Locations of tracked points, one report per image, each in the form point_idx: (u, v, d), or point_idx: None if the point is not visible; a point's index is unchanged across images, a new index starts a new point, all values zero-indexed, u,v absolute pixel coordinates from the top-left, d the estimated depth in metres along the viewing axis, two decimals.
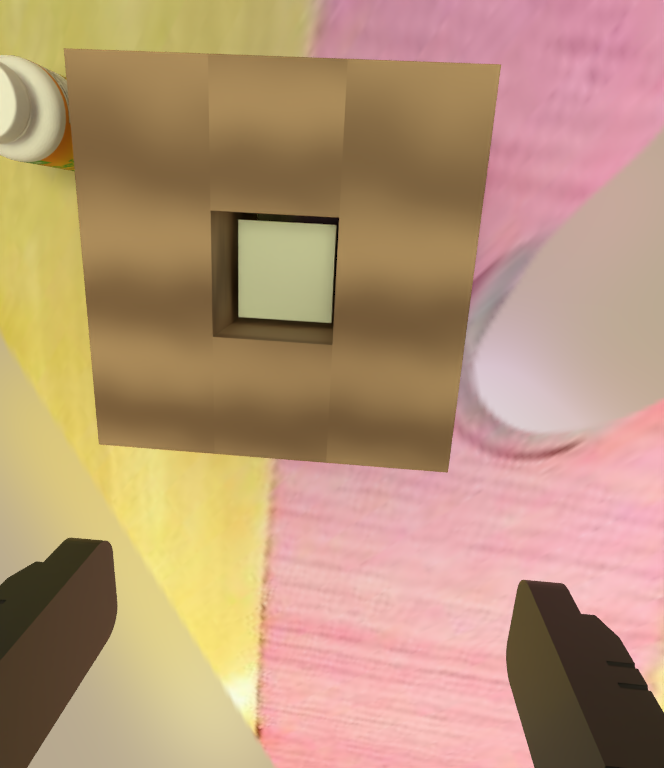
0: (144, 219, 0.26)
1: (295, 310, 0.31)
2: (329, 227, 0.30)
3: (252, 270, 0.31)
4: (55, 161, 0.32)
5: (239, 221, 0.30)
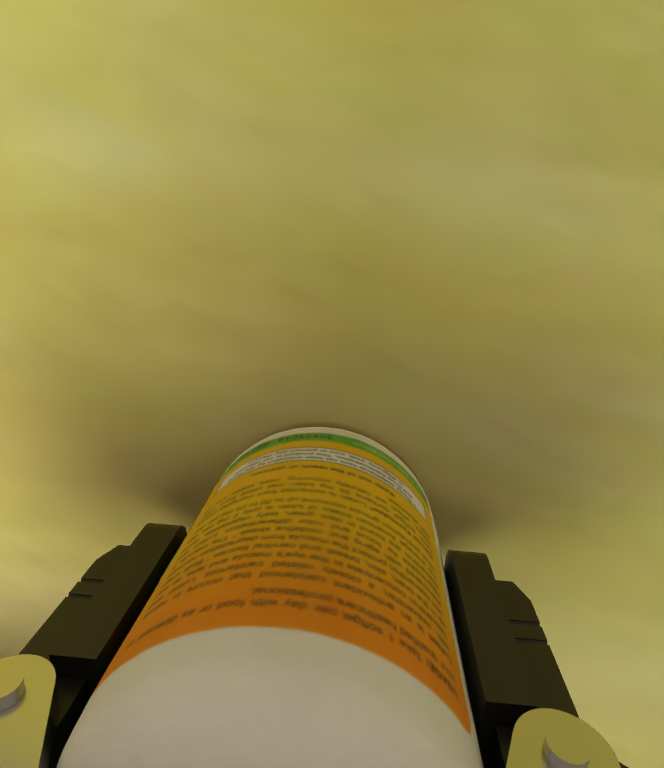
0: None
1: None
2: None
3: None
4: None
5: None
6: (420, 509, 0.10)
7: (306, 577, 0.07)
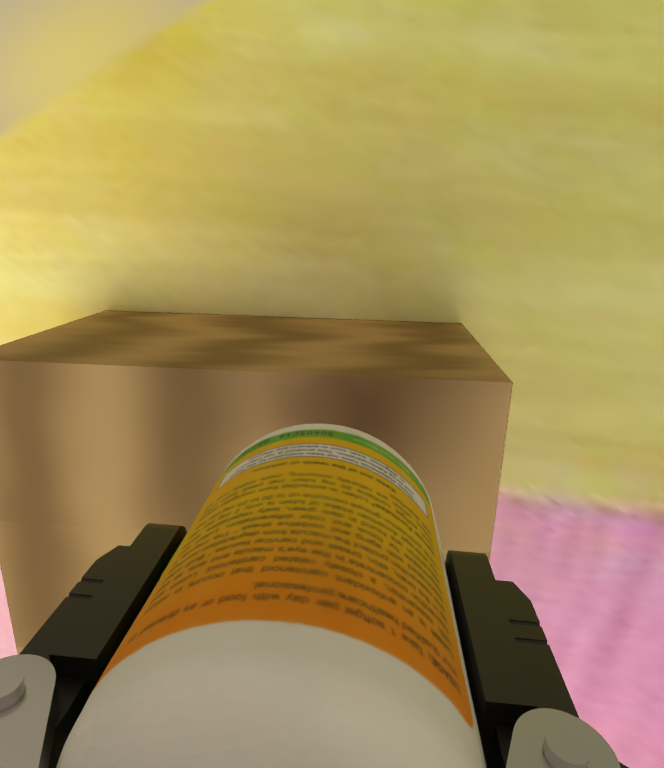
0: None
1: None
2: None
3: None
4: None
5: None
6: (421, 505, 0.10)
7: (308, 572, 0.07)
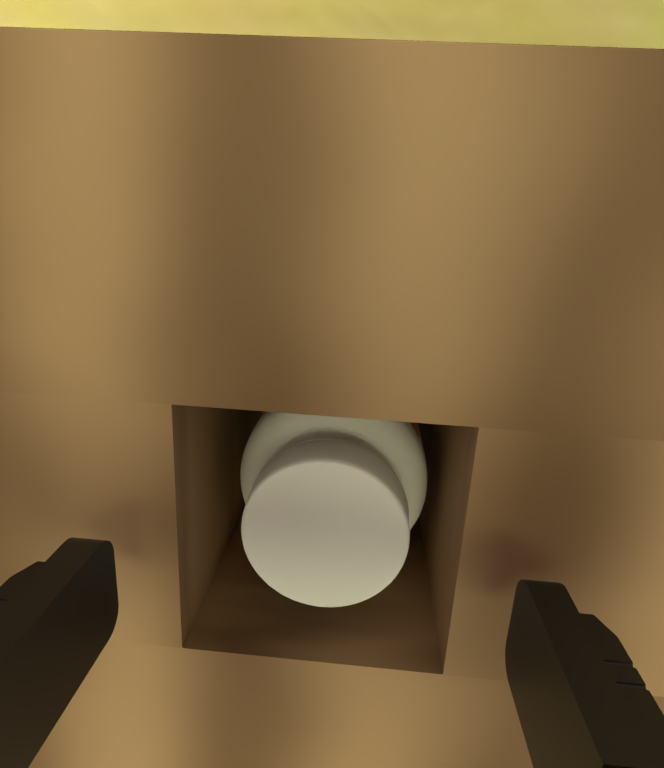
0: (470, 253, 0.10)
1: None
2: None
3: None
4: None
5: None
6: None
7: None
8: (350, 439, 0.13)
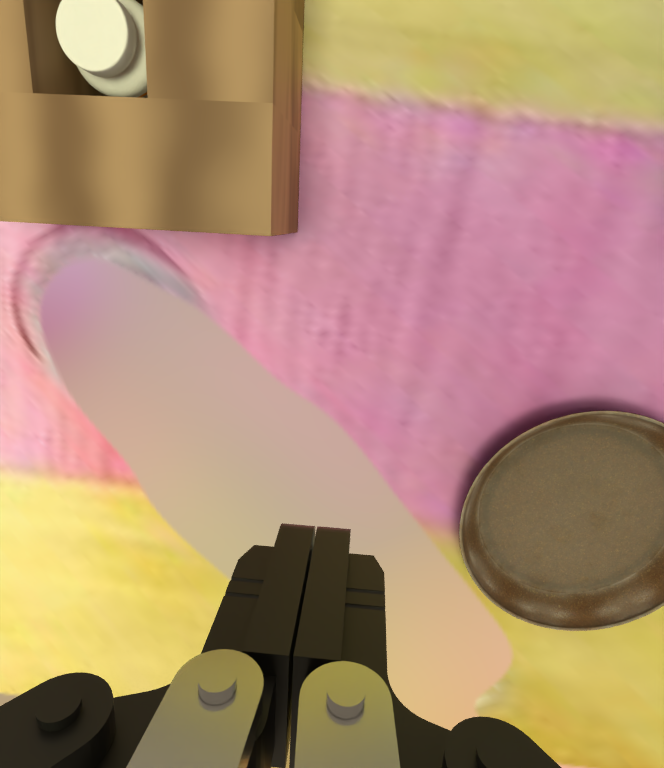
0: None
1: None
2: None
3: None
4: None
5: None
6: None
7: None
8: None
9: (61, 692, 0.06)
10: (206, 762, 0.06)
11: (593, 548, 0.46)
